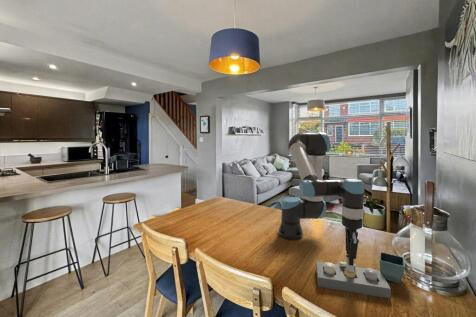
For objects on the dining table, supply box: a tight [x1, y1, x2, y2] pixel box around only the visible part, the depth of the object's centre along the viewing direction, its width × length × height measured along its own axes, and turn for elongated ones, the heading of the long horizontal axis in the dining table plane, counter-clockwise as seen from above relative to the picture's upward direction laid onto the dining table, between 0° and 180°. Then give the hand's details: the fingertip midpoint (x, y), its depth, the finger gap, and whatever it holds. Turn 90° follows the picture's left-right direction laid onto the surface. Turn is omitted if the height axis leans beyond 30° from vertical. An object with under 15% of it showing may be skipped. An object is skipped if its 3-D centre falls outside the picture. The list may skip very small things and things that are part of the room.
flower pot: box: [379, 251, 406, 284], centre depth 94 cm, size 9×9×9 cm
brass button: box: [344, 268, 356, 278], centre depth 92 cm, size 4×4×5 cm
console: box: [315, 261, 392, 299], centre depth 92 cm, size 26×12×4 cm, turn 74°
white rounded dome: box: [365, 267, 378, 281], centre depth 89 cm, size 4×4×5 cm
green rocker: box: [339, 261, 357, 269], centre depth 96 cm, size 6×3×2 cm, turn 74°
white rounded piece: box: [324, 261, 335, 275], centre depth 94 cm, size 4×4×5 cm
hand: (349, 270), depth 91 cm, fingers closed
